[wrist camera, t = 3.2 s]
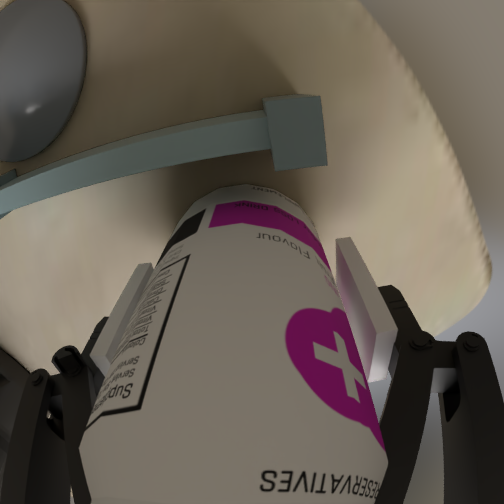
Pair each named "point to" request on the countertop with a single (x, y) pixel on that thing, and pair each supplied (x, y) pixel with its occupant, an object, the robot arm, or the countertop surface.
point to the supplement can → (237, 371)
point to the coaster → (38, 74)
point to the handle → (183, 149)
